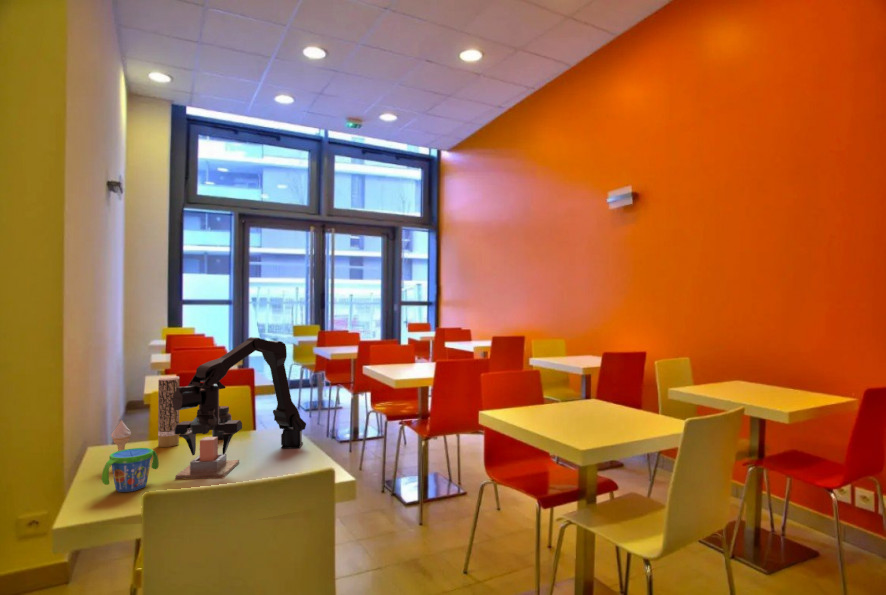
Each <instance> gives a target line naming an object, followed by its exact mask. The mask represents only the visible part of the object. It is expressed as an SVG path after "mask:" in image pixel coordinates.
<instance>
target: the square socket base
mask: <svg viewBox="0 0 886 595" xmlns="http://www.w3.org/2000/svg"><path fill="white" fill-rule="evenodd" d="M238 463H239V464H240V460H239V459H231V460H230V459H229V460H228V459H227V453H225V454H224V455H223V453H218V459H216V460H215V461H200V454H199V455H198V456H197V457H196V458H194V459H192V460H191V461H190V463H189V465H188V466H186V467H185V468H184V469H183V470H181V471H180V472H178V473H177V474H175V480H182V479H181V478H193V479H223V478H222V477H224V478H225V477H226V476H227V475H228V474H230V472H232V471H233V470H234V469H235V468H236V467H237V466H238V465H239V464H238ZM237 464H238V465H237ZM235 466H236V467H235Z"/></svg>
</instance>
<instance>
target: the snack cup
mask: <svg viewBox="0 0 886 595" xmlns="http://www.w3.org/2000/svg"><path fill="white" fill-rule="evenodd" d="M151 459H152V462H151ZM159 463H160V462H159V457H158V454H157V452H156V451H155V450H153V449H152V448H150V447H149V448H148V447H134V448H127V449H125V450H121V451H118V450H117V451H114V452H112V453H111V454H110V455H109V459H108V460H107V461H106V463H105V465H104V467H103V470H102V473H101V483H102V484H104V485H106V486H108V485H110V479H109V478H110V468H111V470H112V476H113V483H114V488H115V490H116V491H117V492H118V493H128V492H129V493H130V492H135V491H139V490H140V489H143V488H146V487H147V483H148V481H149V480H148V478H149V474H150V473H149V472H150V468H152V469H153V470H157V469H158V468H159V466H160V464H159ZM150 464H151V465H150ZM145 486H146V487H145Z"/></svg>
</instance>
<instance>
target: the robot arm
mask: <svg viewBox="0 0 886 595" xmlns="http://www.w3.org/2000/svg"><path fill="white" fill-rule="evenodd" d="M254 352H259V353H261V354H262V357H263V360H264V361H265V362H266V364H267V365H268V366H269V368H270V373H271V379H272V383H273V388H274V392H275V393H274V394H275V398H276V403H277V404H276V407H275V409H274V410H272V414H273V416H274V417H273V418H274V419H273V420H274V421H276V424H277V425H278V427H279V429H280V430H282V433H281V434H280V438H281V439H280V445H281V449H299V448H301V447H302V445H303V444H304V442H303V439H302V438H303V430H305V429H306V427H307V422H305V421H304V420H303V419H302V417H301V414H300V412H299V409H298V408H297V406H296V404H294V402H293V400H292V396H291V391H290V390H291V389H290V386H289V382H288V377H287V371H286V366H285V364H286V360H287V357H288V356H287V345H286V344H285V343H284V342H283V341H280V340H267V339H262V338H260V337H253V336H251V337H248V338H247V339H245V341H242V343H240V344H239V345H237V346H236V347H234V348H233V349H231V350H230V351H228V352H227V353H225V354H224V355H222V356H220V357H219V358H216V359H213V360H209V361H207V362H205V363H201V365H200V364H199V366H198V367H197V368H196V371H195V373H194V375H193V377H192V378H191V380H190V381H189V383H188V385H186V386H179V387H176V392H175V393H174V394H173V398H172V404H173V407H174V409H175V410H179V411H182V410H188V409H192V408H197V407H198V409H197V410H196V411H197V412H196V415H195V416H196V417H194V418H193V420H192V421H191V420H187V421H185V420H184V421H180V422H179V424H177V425H176V426H175V429H174V434H179V438H183V439H185V441H186V443H187V445H188V449H189V450H190V453H191V456H195V455H196V446H197V445H196V444H197V434H200V435H201V434H202V435H206V434H208V433H209V432H210V431H212V430H223V431H224V432H225V433H224V434H222V435H223V440H222V454H223V455H224V454H227V453H226V452H227V450H228V447H229V445H230V442H231V440H232V439H233V436H234V435H235V434H237V433H238V432H240V431H241V430H242V429H243V422H242V421H241V420H240V419H237V420H236V419H235V420H233V419H232V420H229V421H228V422H226V423H225V424H219V422H220V419H219V409H220V406H221V405H220V390H224V389H226V388H227V387H226V385H224V384H223V383H222V382H221V380H222V379H223V378H225V376H227V374H228V372H229V370H230V369H232V368H233V367H234V366H236V365H237V364H238V363H240V362H241V361H243V360H244V359H245V358H247V357H248V356H250V355H252V354H254Z"/></svg>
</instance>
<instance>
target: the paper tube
mask: <svg viewBox="0 0 886 595" xmlns="http://www.w3.org/2000/svg"><path fill="white" fill-rule="evenodd" d="M157 381H158V394H157V396H158V398H157V399H158V400H157V402H158V403H157V404H158V409H157V410H158V412H157V415H158V418H157V419H158V420H157V425H158V426H157V427H158V430H157V433H158V434H157V437H158V438H157V439H158V440H157V441H158V442H157V445H158V447H160V448H170V447H175V446H177V445H179V443H180V436H179V435H180V434H174V429H175V426H176V425H177V424H179V423H180V410H175V409H174V407H173V404H172V398H173V394H174V393H175V392H176V387H180V376H179V375H178V376H175V375H171V376H162V377H158V380H157Z"/></svg>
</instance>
